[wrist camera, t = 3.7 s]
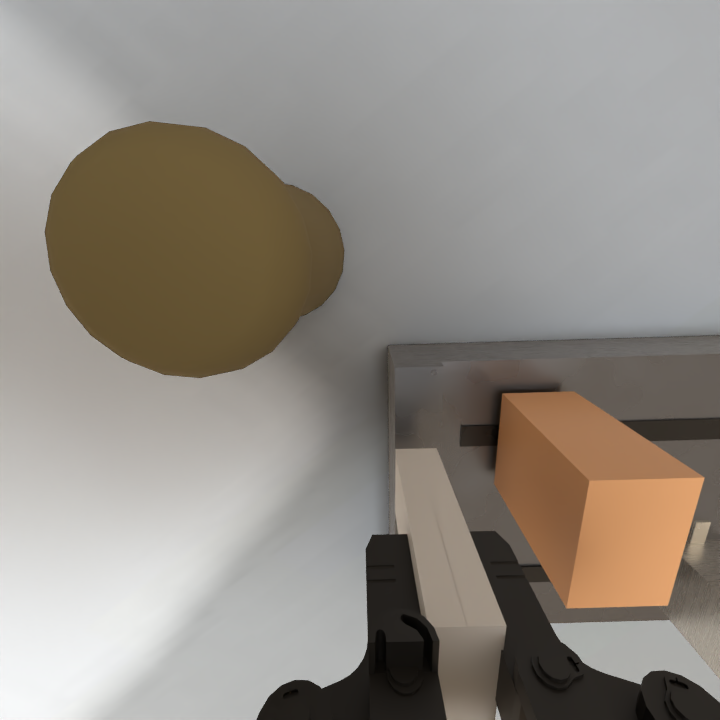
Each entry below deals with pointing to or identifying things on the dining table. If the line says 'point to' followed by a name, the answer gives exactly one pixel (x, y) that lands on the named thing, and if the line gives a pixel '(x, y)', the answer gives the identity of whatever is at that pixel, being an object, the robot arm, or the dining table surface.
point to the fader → (594, 500)
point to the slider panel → (608, 392)
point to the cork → (187, 249)
